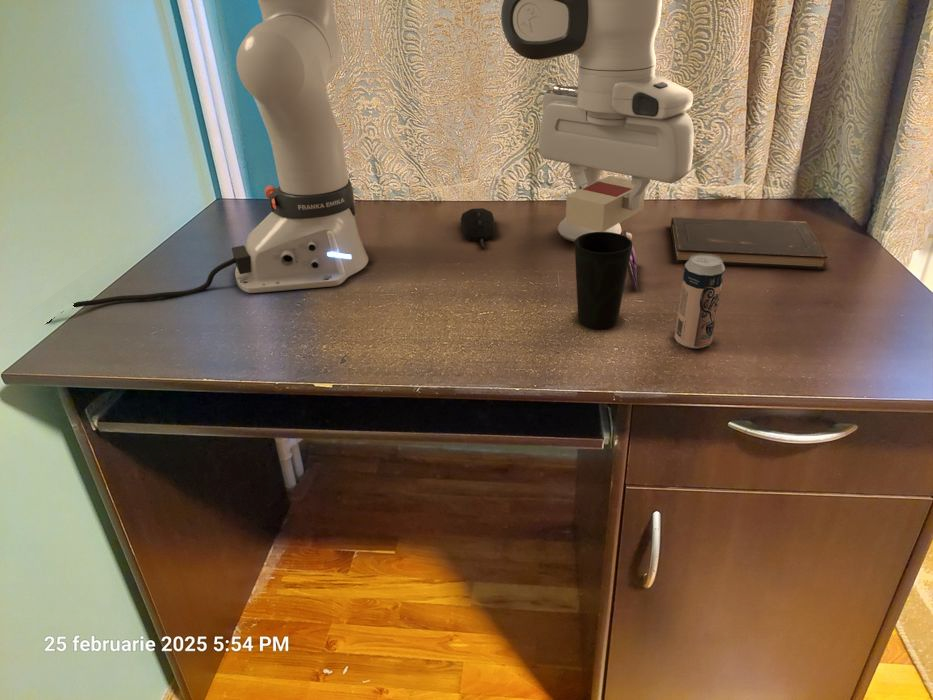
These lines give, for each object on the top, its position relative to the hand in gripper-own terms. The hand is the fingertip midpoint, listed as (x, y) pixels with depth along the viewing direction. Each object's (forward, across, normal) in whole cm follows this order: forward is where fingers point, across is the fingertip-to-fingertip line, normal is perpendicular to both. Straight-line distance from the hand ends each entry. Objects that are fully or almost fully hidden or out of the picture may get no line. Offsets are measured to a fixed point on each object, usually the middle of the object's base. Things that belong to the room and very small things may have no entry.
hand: (606, 203), depth 86 cm
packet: (+2, 0, 0) cm, 2 cm away
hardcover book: (+18, +5, +37) cm, 42 cm away
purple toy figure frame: (+18, -5, +14) cm, 23 cm away
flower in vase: (+18, -18, +24) cm, 35 cm away
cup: (+18, 0, 0) cm, 18 cm away
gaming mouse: (+18, -35, +15) cm, 42 cm away
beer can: (+18, +13, +3) cm, 22 cm away
